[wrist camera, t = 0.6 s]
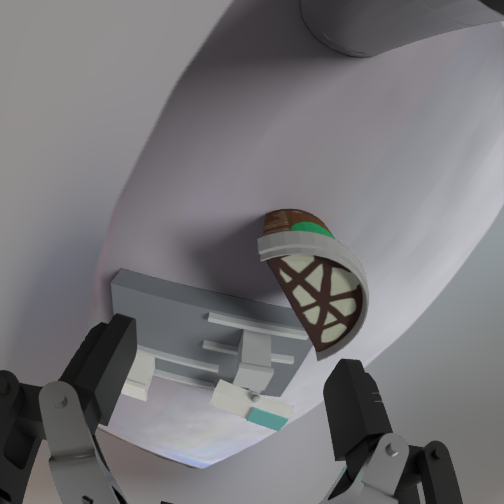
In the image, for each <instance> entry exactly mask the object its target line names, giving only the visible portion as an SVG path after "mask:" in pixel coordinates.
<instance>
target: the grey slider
mask: <svg viewBox="0 0 504 504" xmlns="http://www.w3.org/2000/svg"><path fill="white" fill-rule="evenodd" d="M273 374H274V368H271V334H267V333H261V332H256V331H251V330H246V329H244V330H243V333H242V336H241V339H240V342H239V345H238V355H237V365H236V374H235V376H234V379H233V383H232V386H238V387H244V388H250V389H257V390H265V388H266V387H267V385H268V383H269V381H270V380H271V378H272V376H273Z"/></svg>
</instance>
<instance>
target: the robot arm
mask: <svg viewBox="0 0 504 504" xmlns="http://www.w3.org/2000/svg"><path fill="white" fill-rule="evenodd" d="M301 12H302V17H303V19H304V21H305V23H306V25H307V27H308V28H309V29H310V31H311V32H312V33H313V35H314V36H316V37H317V38H318V39H319V40H320V41H321V42H322V43H324V44H325V45H327V46H328V47H330V48H331V49H334V50H336V51H338V52H340V53H343V54H346V55H350V56H356V57H371V56H375V55H378V54H381V53H384V52H386V51H389V50H392V49H395V48H398V47H401V46H403V45H406V44H409V43H412V42H415V41H418V40H422V39H425V38H428V37H432V36H435V35H439V34H442V33H446V32H450V31H454V30H458V29H462V28H467V27H472V26H477V25H481V24H487V23H493V22H500V21H504V0H301ZM136 352H137V330H136V319H135V318H132V317H129V316H126V315H122V314H119V313H116V314H115V315H114V317H113V318H112V320H111V321H110V323H109V324H106V323H103V322H101V323H99V324H98V325H96V326H95V327H93V328H92V329H91V330H90V332H89V333H88V335H87V336H86V338H85V341H83V342H82V344H81V346H80V348H79V349H78V350H77V352H76V353H75V355H74V356H73V358H72V359H71V361H70V363H69V364H68V366H67V368H66V369H65V371H64V373H63V375H62V376H61V378H60V379H59V380H58V381H53V382H50V383H48V384H46V385H45V386H44V387H39V386H33V385H28V384H22V383H19V381H18V379H17V378H16V376H15V375H14V374H13V373H11V372H9V371H6V370H0V504H22V502H23V498H24V494H25V490H26V487H27V483H28V480H29V477H30V473H31V470H32V467H33V464H34V461H35V458H36V455H37V452H38V449H39V447H40V444H41V441H42V439H45V440H47V441H48V446H49V449H50V453H51V458H50V459H49V467H50V471H51V474H52V477H53V480H54V482H55V485H56V488H57V491H58V493H59V496H60V498H61V501H62V503H63V504H128V502H127V500H126V498H125V496H124V495H123V492H122V491H121V489H120V487H119V485H118V483H117V482H116V480H115V478H114V476H113V474H112V472H111V470H110V468H109V466H108V463H107V461H106V459H105V456H104V454H103V452H102V449H101V447H100V444H99V442H98V439H97V436H96V434H95V431H96V428H97V426H98V423H100V424H102V425H105V426H108V423H109V420H110V418H111V415H112V413H113V410H114V408H115V405H116V403H117V400H118V398H119V395H120V393H121V390H122V388H123V386H124V383H125V381H126V379H127V376H128V374H129V372H130V369H131V367H132V365H133V362H134V360H135V357H136ZM323 395H324V401H325V406H326V411H327V416H328V422H329V427H330V433H331V438H332V444H333V450H334V456H335V461H344V460H346V466H345V467H344V468H343V469H342V471H341V473H340V474H339V476H338V477H337V479H336V480H335V482H334V484H333V485H332V487H331V488H330V490H329V491H328V493H327V494H326V496H325V497H324V499H323V500H322V501H321V502H320V503H319V504H420V499H419V494H418V490H417V484H418V483H420V482H422V486H423V491H424V496H425V501H426V504H463V503H462V498H461V494H460V490H459V486H458V482H457V478H456V474H455V471H454V468H453V464H452V461H451V458H450V454H449V451H448V449H447V448H446V446H445V445H444V444H443V443H442V442H439V441H432V442H430V443H429V444H427V445H426V446H425V447H418V446H412V445H408V444H407V442H406V440H405V439H404V438H403V437H402V436H400V435H398V434H394V433H393V431H392V428H391V425H390V422H389V419H388V416H387V413H386V410H385V407H384V404H383V403H382V399H381V396H380V395H379V390H378V388H377V385H376V382H375V381H374V380H373V378H372V377H371V376H370V375H369V373H365V371H364V368H363V366H362V363H361V361H360V360H353V359H341V360H340V361H339V362H338V364H337V365H336V367H335V368H334V370H333V371H332V373H331V374H330V376H329V377H328V379H327V380H326V382H325V385H324V389H323ZM161 504H172V503H167V502H163V501H161Z"/></svg>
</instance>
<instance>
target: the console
mask: <svg viewBox="0 0 504 504" xmlns="http://www.w3.org/2000/svg"><path fill="white" fill-rule="evenodd" d="M111 292H112V302H113V312H114V315H115V314H116V313H119V314H122V315H126V316H129V317H132V318H135V319H136V330H137V352H138V353H142V354H145V355H148V356H152V357H155V370H154V373H153V375H155V376H158V377H162V378H165V379H169V380H173V381H177V382H181V383H185V384H189V385H193V386H198V387H202V388H207V389H212V390H213V387H216V386H217V384H218V382H219V380H220V379H221V380H224V381H226V382H228V383H231V384H232V383H233V379H234V376H235V374H236V365H237V355H238V345H239V342H240V339H241V336H242V333H243V330H244V329H246V330H251V331H256V332H261V333H267V334H271V368H274V374H273V376H272V378H271V380H270V381H269V383H268V385H267V387H266V388H265V390H257V389H250V388H244V387H241V388H243V389H246V390H249V391H251V392H254V393H257V394H260V395H267V396H275V397H280V396H281V395H282V393H283V392H284V390H285V389H286V387H287V386H288V384H289V383H290V381H291V380H292V378H293V377H294V375H295V374H296V372H297V370H298V369H299V367H300V366H301V364H302V362H303V361H304V359H305V358H306V356H307V354H308V353H309V351H310V349H311V348H312V346H313V343H312V342H311V340H310V338H309V336H308V334H307V333H306V331H305V329H304V327H303V326H302V324H301V323H300V321H299V319H298V318H297V316H296V314H295V312H294V310H293V309H290V308H285V307H280V306H275V305H270V304H266V303H261V302H256V301H251V300H247V299H242V298H237V297H233V296H228V295H224V294H220V293H215V292H211V291H207V290H203V289H198V288H194V287H190V286H186V285H182V284H178V283H174V282H170V281H166V280H162V279H158V278H155V277H151V276H147V275H143V274H140V273H136V272H132V271H129V270H125V269H122V268H121V270H120V271H119V272H118V274H117V275H116V276H115V278H114V279H113V281H112V282H111Z"/></svg>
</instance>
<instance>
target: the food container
mask: <svg viewBox="0 0 504 504" xmlns="http://www.w3.org/2000/svg"><path fill="white" fill-rule="evenodd" d="M257 243H258V252H259V254H260V261H264V260H266V261H267V263H268V265H269V266H270V268H271V269H272V271H273V272H274V274H275V276H276V278H277V280H278V282H279V283H280V285H281V287H282V289H283V291H284V293H285V295H286V297H287V299H288V301H289V303H290V304H291V306H292V308H293V310H294V312H295V314H296V316H297V318H298V319H299V321H300V323H301V324H302V326H303V327H304V329H305V331H306V333H307V334H308V336H309V338H310V340H311V342H312V343H313V345H314V347H315V351H316V356H317V361H321V360H323V359H326V358H328V357H330V356H332V355H334V354H336V353H337V352H339V351H340V350H342V349H343V348H344V347H345V346H347V345H348V344H349V343H350V342H351V341H352V340H353V339H354V338H355V337H356V335H357V334H358V333H359V331H360V329H361V328H362V326H363V324H364V321H365V319H366V315H367V311H368V305H369V290H368V283H367V278H366V273H365V271H364V268H363V266H362V264H361V262H360V261H359V259H358V258H357V256H356V255H355V254H354V253H353V252H352V251H351V250H350V249H349V248H348V247H347V246H345V245H344V244H342V243H341V242H339V241H337V240H335V238H334V237H333V235H332V234H331V232H330V231H329V229H328V228H327V227H326V225H325V224H324V223H323V222H322V221H321V220H320V219H319V218H317V217H316V216H314V215H313V214H311V213H308V212H306V211H302V210H298V209H281V210H276V211H272V212H270V213H267V214H266V215H265V223H264V230H263V237H261V238H258V239H257Z"/></svg>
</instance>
